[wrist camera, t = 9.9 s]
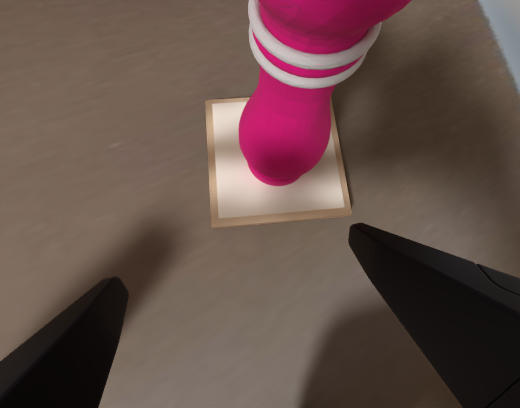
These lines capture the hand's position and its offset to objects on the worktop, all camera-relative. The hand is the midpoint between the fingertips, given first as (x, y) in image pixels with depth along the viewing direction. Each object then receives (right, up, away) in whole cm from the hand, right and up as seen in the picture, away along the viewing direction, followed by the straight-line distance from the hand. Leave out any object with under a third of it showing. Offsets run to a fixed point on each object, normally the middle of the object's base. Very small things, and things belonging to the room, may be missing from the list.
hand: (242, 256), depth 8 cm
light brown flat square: (+2, +7, +15) cm, 17 cm away
